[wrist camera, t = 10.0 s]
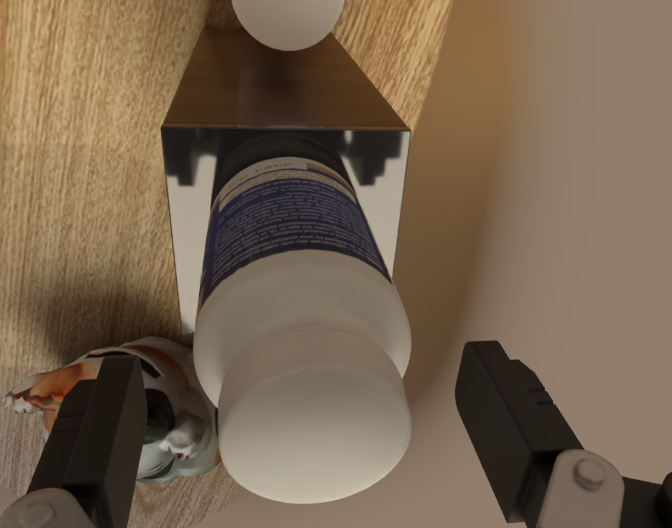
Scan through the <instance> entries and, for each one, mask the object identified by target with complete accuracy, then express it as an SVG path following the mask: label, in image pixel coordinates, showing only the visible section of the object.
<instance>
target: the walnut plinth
mask: <svg viewBox="0 0 672 528" xmlns="http://www.w3.org/2000/svg"><path fill="white" fill-rule="evenodd" d="M163 123H173V124H239V125H306V126H373V127H407V126H406V124H405V123H404V122H403V121H402V119H401V118H400V117H399V116H398V115H397V113H396V112H395V111H394V110H393V108H392V107H391V106H390V105H389V103H388V102H387V101H386V100H385V98H384V97H383V96H382V95H381V93H380V92H379V91H378V90H377V89H376V87H375V86H374V85H373V84H372V82H371V81H370V80H369V79H368V77H367V76H366V75H365V74H364V72H363V71H362V70H361V69H360V68H359V66H358V65H357V64H356V63H355V61H354V60H353V59H352V58H351V56H350V55H349V54H348V53H347V51H346V50H345V49H344V48H343V46H342V45H341V44H340V43H339V42H338V40H337V39H336V38H335V37H334V35H333V34H332V33H331V32H330V33H329V34H328V35H327V36H326V37H325V38H324V39H322V40H321V41H319V42H318V43H316V44H315V45H312V46H310V47H308V48H305V49H300V50H296V51H283V50H279V49H274V48H271V47H269V46H267V45H264V44H262V43H261V42H259V41H258V40H257V39H255V38H254V37H252V36H251V35H250V33H249V32H248V31H247V30H246V29H240V28H215V27H203V29H202V32H201V34H200V36H199V39H198V41H197V44H196V46H195V48H194V51H193V53H192V55H191V58H190V60H189V63H188V65H187V67H186V70H185V72H184V74H183V77H182V79H181V82H180V84H179V86H178V89H177V91H176V93H175V96H174V98H173V101H172V103H171V105H170V108H169V110H168V112H167V115H166V117H165V120H164V122H163Z"/></svg>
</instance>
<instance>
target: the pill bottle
mask: <svg viewBox="0 0 672 528" xmlns="http://www.w3.org/2000/svg"><path fill="white" fill-rule="evenodd" d="M410 351H411V333H410V326H409V322H408V318H407V315H406V312H405V309H404V307H403V304H402V302H401V299H400V297H399V294H398V292H397V290H396V287H395V285H394V283H393V281H392V278H391V276H390V274H389V271H388V269H387V266H386V264H385V262H384V259H383V257H382V254H381V252H380V249H379V247H378V244H377V242H376V239H375V237H374V235H373V232H372V230H371V227H370V225H369V223H368V220H367V218H366V216H365V213H364V211H363V209H362V207H361V205H360V202H359V200H358V198H357V196H356V194H355V192H354V191H353V190H352V188H351V187H350V186H349V184H348V183H347V182H346V181H345V179H344V178H342V177H341V176H340V175H339V174H338V173H337V172H335V171H334V170H332V169H331V168H329V167H327V166H325V165H323V164H321V163H319V162H316V161H313V160H310V159H305V158H297V157H280V158H273V159H269V160H265V161H261V162H258V163H256V164H253V165H251V166H249V167H247V168H245V169H244V170H242V171H241V172H239V173H238V174H236V175H235V176H234V177H233V178H232V179H231V180H230V181H229V182H228V183H227V184H226V185H225V186H224V187H223V188H222V190H221V191H220V193H219V194H218V196H217V197H216V199H215V201H214V204H213V207H212V210H211V213H210V217H209V222H208V229H207V236H206V242H205V251H204V258H203V266H202V274H201V280H200V290H199V299H198V306H197V313H196V321H195V329H194V336H193V359H194V366H195V370H196V374H197V377H198V379H199V382H200V384H201V386H202V388H203V390H204V391H205V393H206V395H207V396H208V398H209V399H210V400H211V401H212V403H213V404H214V405H215V406H216V407H217V408H218V446H219V452H220V456H221V459H222V462H223V464H224V466H225V468H226V470H227V472H228V473H229V474H230V475H231V476H232V478H233V479H234V480H235V481H236V482H237V483H239V484H240V485H241V486H242V487H244V488H246V489H247V490H249V491H251V492H253V493H254V494H257V495H259V496H261V497H265V498H268V499H271V500H276V501H280V502H285V503H297V504H308V503H322V502H327V501H332V500H337V499H341V498H344V497H348V496H350V495H353V494H355V493H358V492H360V491H362V490H364V489H366V488H368V487H370V486H371V485H373V484H374V483H376V482H377V481H379V480H380V479H382V478H383V477H384V476H386V475H387V474H388V473H389V472H390V471H391V470H392V469H393V468H394V467H395V466H396V465H397V463H398V462H399V461H400V460H401V458H402V457H403V455H404V453H405V451H406V449H407V447H408V444H409V441H410V437H411V429H412V424H411V415H410V410H409V406H408V403H407V399H406V396H405V392H404V387H403V381H402V378H403V376H404V373H405V371H406V368H407V365H408V362H409V357H410Z"/></svg>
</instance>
